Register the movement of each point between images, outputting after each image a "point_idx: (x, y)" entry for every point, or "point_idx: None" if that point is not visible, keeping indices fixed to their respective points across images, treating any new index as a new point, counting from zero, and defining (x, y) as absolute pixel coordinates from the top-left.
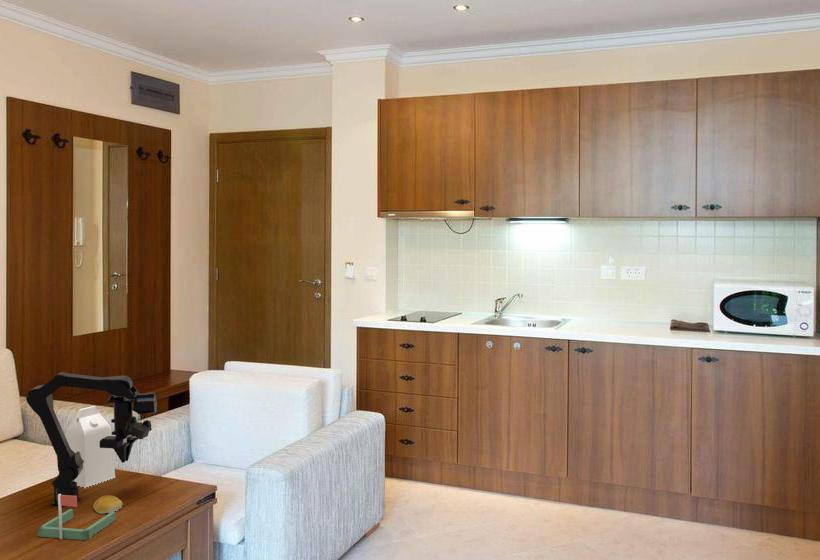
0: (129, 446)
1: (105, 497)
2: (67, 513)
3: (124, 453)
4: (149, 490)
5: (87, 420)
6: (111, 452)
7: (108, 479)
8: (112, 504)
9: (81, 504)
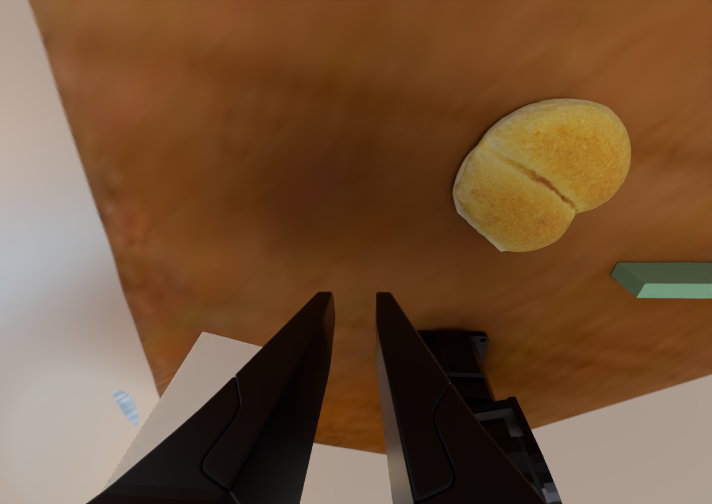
0: (245, 479)
1: (548, 211)
2: (686, 281)
3: (449, 387)
4: (249, 114)
5: None
6: (144, 440)
7: (229, 341)
8: (619, 125)
9: (467, 304)
